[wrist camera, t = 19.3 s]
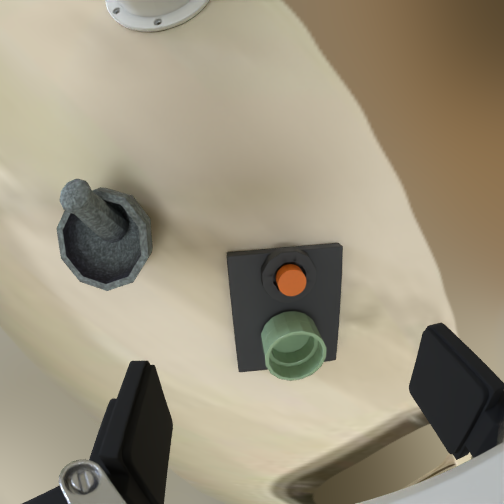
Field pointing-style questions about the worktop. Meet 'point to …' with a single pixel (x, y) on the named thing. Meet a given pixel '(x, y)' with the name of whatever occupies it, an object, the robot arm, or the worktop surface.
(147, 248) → the mortar and pestle
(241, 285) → the scale
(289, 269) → the button
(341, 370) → the worktop surface
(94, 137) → the worktop surface
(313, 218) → the worktop surface
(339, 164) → the worktop surface
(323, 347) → the bowl
